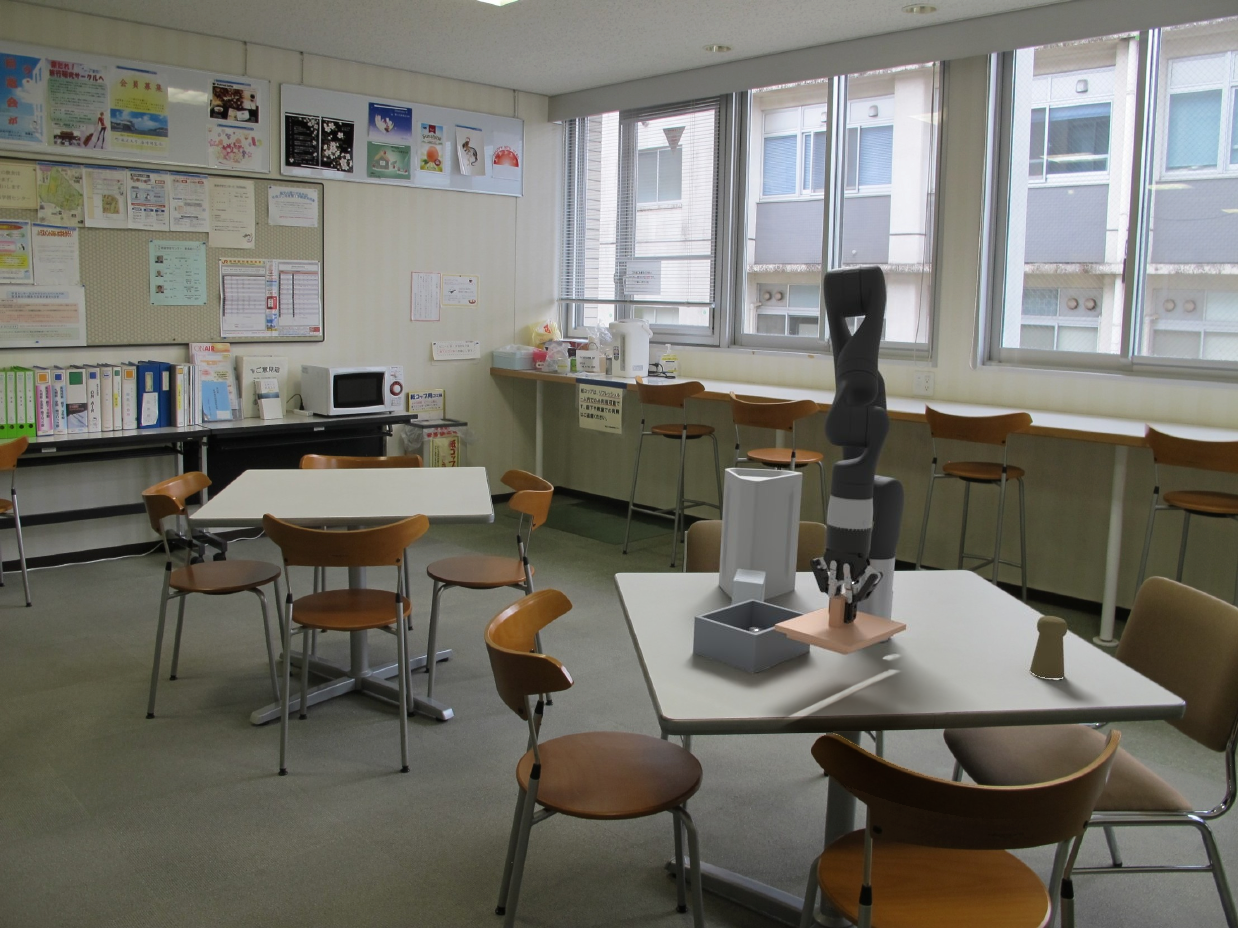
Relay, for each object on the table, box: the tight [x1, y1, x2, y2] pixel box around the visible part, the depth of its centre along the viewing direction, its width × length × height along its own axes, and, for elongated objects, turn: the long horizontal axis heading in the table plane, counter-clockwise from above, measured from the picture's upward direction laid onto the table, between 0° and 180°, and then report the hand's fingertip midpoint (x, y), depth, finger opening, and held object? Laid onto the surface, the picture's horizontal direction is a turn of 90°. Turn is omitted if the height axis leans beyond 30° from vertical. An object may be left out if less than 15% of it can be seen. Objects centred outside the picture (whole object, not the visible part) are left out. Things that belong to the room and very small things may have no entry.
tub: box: [692, 599, 811, 674], centre depth 189 cm, size 18×14×8 cm
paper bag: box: [718, 467, 803, 601], centre depth 233 cm, size 19×15×28 cm
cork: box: [1029, 615, 1068, 678], centre depth 185 cm, size 6×6×11 cm
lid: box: [775, 592, 907, 656], centre depth 172 cm, size 19×15×7 cm
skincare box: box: [730, 569, 766, 606], centre depth 209 cm, size 10×6×10 cm, turn 168°
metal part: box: [749, 627, 764, 633], centre depth 193 cm, size 3×3×3 cm
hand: (841, 620), depth 172 cm, fingers closed on lid
